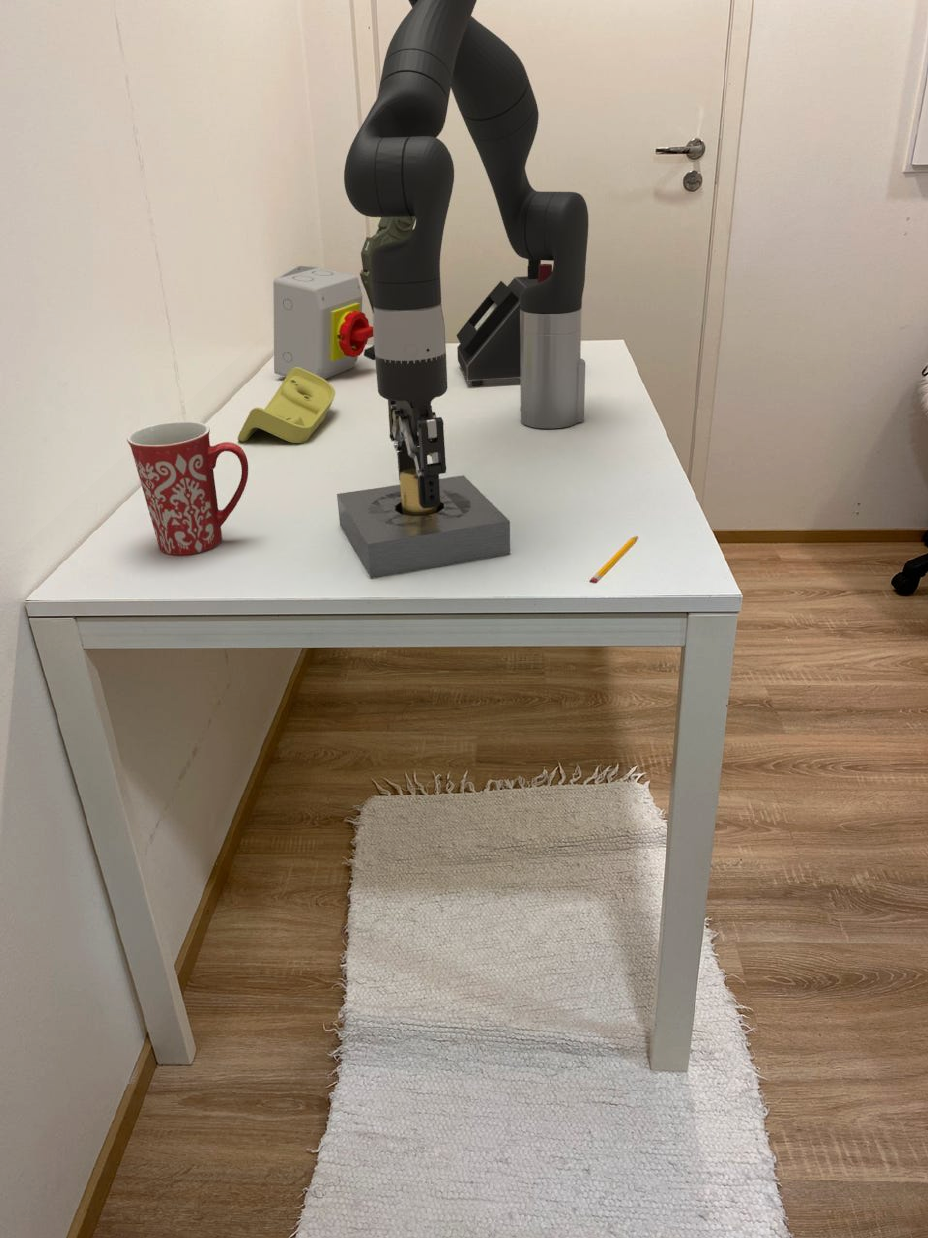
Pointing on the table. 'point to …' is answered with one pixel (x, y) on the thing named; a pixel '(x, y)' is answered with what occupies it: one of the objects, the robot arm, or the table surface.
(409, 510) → the brass peg
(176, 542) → the mug
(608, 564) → the pencil
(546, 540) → the table surface
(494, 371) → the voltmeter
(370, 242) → the mechanical leg
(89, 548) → the table surface
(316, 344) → the electrical switch box
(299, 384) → the plastic component
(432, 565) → the jig
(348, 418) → the table surface
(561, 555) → the table surface
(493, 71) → the robot arm
